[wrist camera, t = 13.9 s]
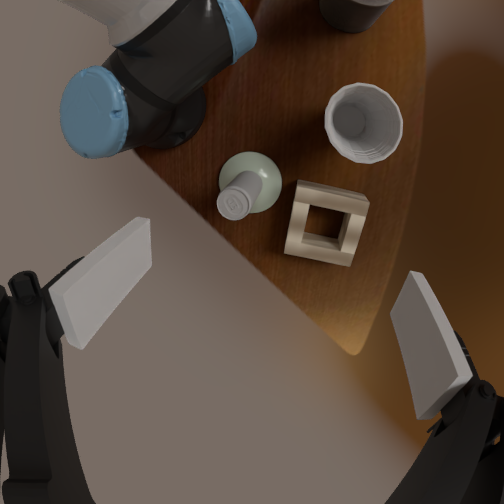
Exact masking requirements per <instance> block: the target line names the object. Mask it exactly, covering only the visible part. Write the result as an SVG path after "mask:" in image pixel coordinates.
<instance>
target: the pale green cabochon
mask: <svg viewBox="0 0 504 504" xmlns="http://www.w3.org/2000/svg"><path fill="white" fill-rule="evenodd" d="M247 170H248V171H252V172H255V173H256V174H258V175H259V176H260V177H261V179H262V183H263V186H262V190H261V192H260V194H259V195H258V197H257V199H256V201H255V203H254V205H253V206H252V208H251V210H250V212H249V213H258V212H262V211H264V210H266V209H268V208H269V207H271V206H272V205H273V204H274V203H275V202H276V200H277V199H278V197H279V195H280V192H281V188H282V177H281V173H280V171H279V169H278V167H277V165H276V164H275V163H274V162H273V161H272V160H271V159H270V158H269V157H267V156H266V155H264V154H261V153H258V152H251V151H250V152H242V153H239V154H237V155H235V156H233V157H232V158H230V159H229V160H228V161H227V162H226V163H225V164H224V166H223V168H222V170H221V172H220V177H219V187H220V191H222V190H223V189H224V188H225V187H226V186H227V185H228V184H229V183H230V182H231V181H232V180H233V179H234V178H235V177H236V176H237V175H238V174H240V173H241V172H243V171H247Z"/></svg>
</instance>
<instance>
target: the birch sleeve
mask: <svg viewBox="0 0 504 504" xmlns="http://www.w3.org/2000/svg"><path fill="white" fill-rule="evenodd" d="M369 204H370V202H369V201H368V200H367V198H366V197H365V195H364V194H361V193H357V192H353V191H349V190H345V189H340V188H336V187H332V186H327V185H322V184H318V183H313V182H308V181H303V180H298V181H297V186H296V191H295V196H294V202H293V207H292V212H291V217H290V222H289V227H288V232H287V237H286V242H285V249H284V253H285V254H290V255H295V256H300V257H305V258H310V259H315V260H320V261H325V262H330V263H335V264H339V265H344V266H349V267H350V265H351V262H352V259H353V256H354V253H355V250H356V247H357V244H358V241H359V238H360V234H361V231H362V228H363V225H364V221H365V218H366V214H367V211H368V207H369ZM309 205H315V206H319V207H324V208H329V209H333V210H338V211H342V212H345V215H344V218H343V222H342V226H341V229H340V233H339V236H338V239H335V238H330V237H325V236H321V235H316V234H311V233H306V232H304V228H305V224H306V219H307V215H308V210H309Z"/></svg>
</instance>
